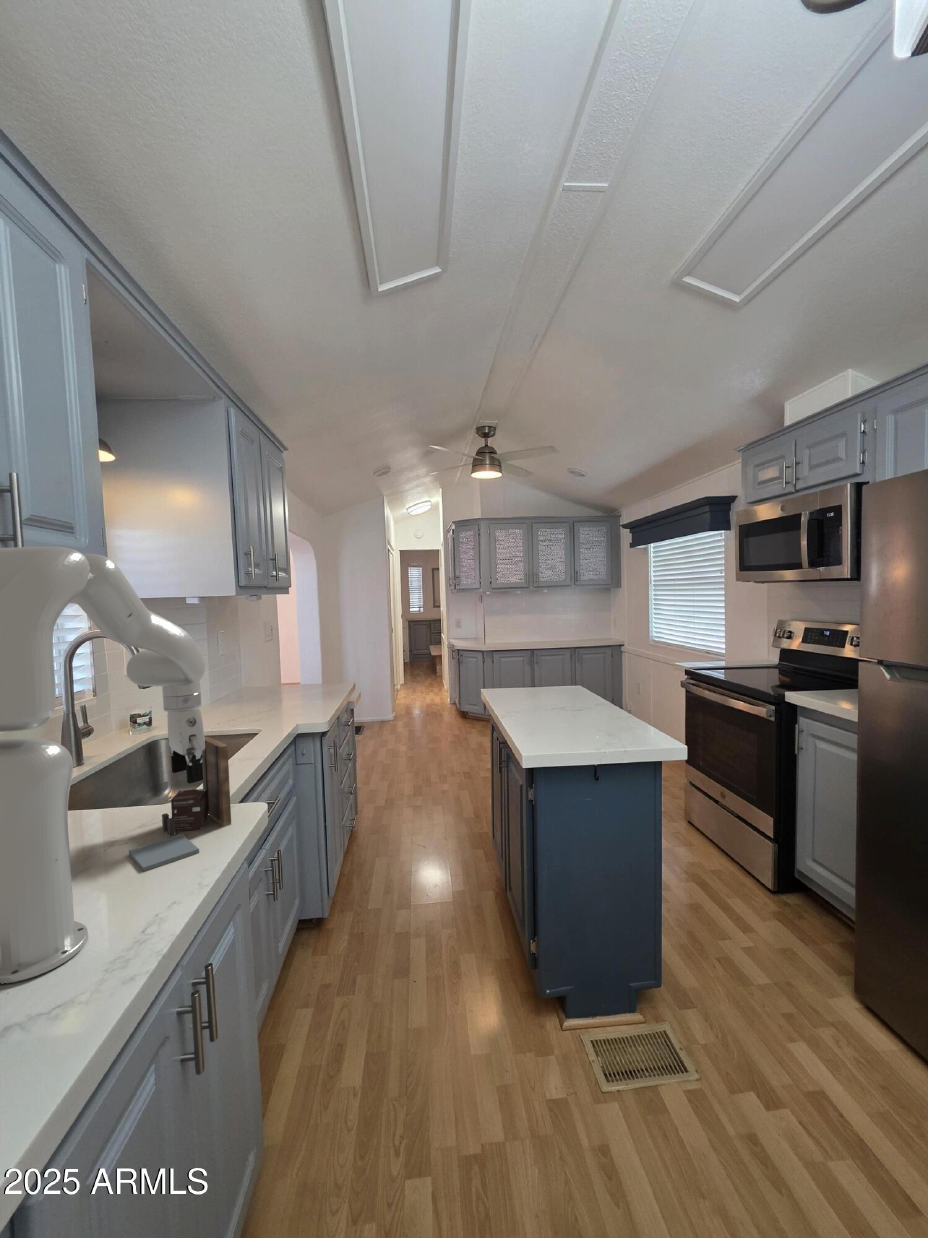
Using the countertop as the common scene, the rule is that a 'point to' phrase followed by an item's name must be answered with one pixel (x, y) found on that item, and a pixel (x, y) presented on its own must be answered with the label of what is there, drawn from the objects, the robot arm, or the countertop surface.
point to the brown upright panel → (212, 785)
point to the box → (189, 809)
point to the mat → (163, 852)
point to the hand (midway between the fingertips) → (187, 776)
